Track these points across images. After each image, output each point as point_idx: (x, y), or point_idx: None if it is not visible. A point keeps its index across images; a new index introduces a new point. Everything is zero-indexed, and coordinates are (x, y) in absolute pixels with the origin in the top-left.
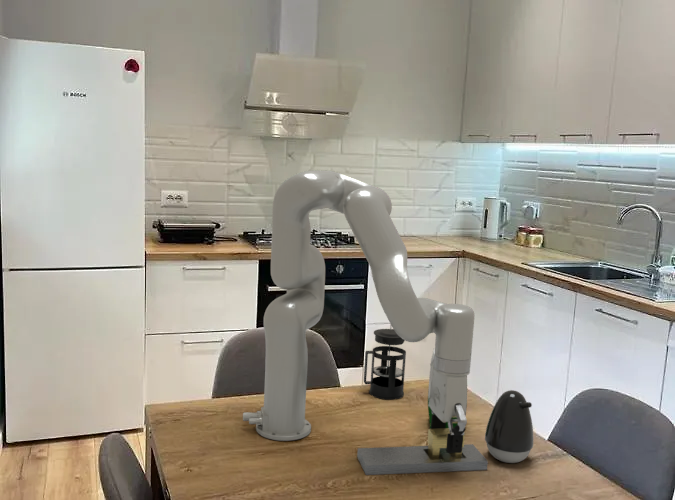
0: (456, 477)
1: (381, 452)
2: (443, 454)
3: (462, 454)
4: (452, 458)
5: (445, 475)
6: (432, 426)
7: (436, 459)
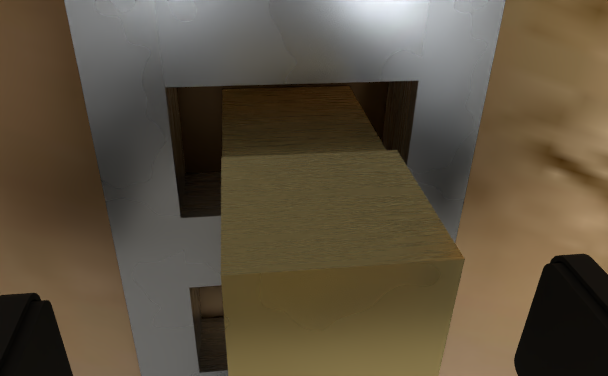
0: (29, 224)
1: None
2: None
3: None
4: (196, 282)
5: (54, 153)
6: (598, 311)
7: (171, 148)
